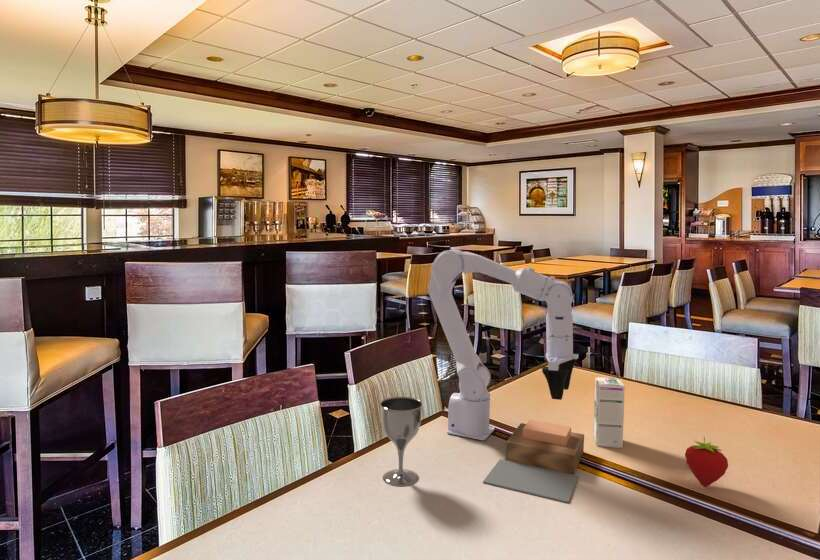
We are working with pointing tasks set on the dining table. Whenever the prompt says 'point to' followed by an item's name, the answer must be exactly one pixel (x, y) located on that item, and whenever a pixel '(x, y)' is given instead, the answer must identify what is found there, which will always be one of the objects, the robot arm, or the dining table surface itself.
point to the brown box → (545, 452)
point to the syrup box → (609, 412)
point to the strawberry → (706, 462)
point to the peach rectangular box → (547, 432)
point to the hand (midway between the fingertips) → (560, 393)
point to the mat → (532, 480)
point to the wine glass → (401, 434)
